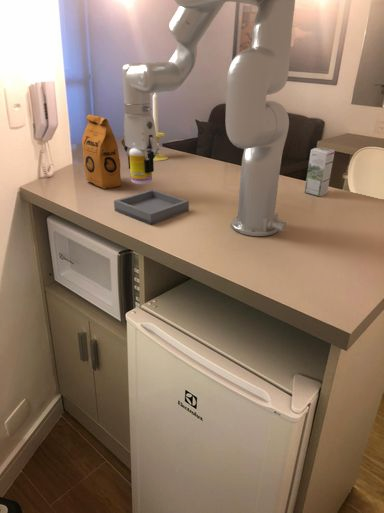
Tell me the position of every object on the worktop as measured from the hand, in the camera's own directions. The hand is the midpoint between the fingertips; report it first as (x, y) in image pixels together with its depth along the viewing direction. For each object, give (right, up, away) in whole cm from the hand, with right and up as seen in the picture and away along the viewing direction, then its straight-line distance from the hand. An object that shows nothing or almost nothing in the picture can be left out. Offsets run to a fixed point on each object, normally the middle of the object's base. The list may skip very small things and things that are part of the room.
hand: (141, 169), depth 129 cm
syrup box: (+57, -6, +9) cm, 58 cm away
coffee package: (-14, -3, +12) cm, 19 cm away
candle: (+1, +14, +46) cm, 48 cm away
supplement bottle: (0, -4, +2) cm, 4 cm away
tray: (+4, -14, -10) cm, 17 cm away
